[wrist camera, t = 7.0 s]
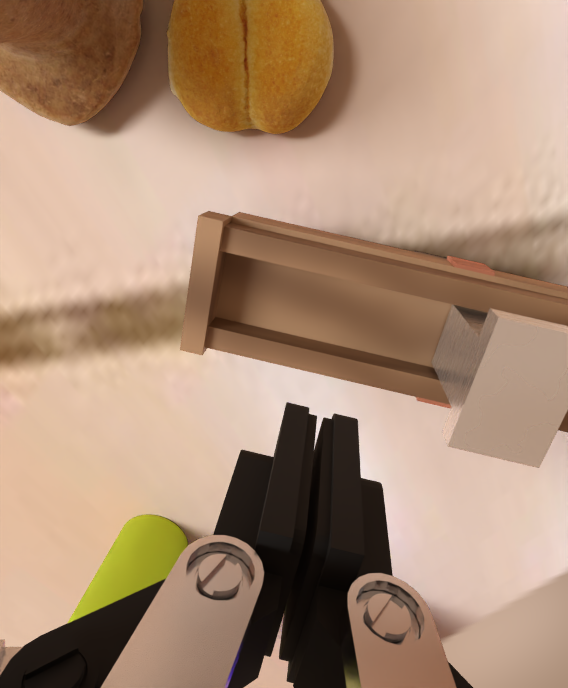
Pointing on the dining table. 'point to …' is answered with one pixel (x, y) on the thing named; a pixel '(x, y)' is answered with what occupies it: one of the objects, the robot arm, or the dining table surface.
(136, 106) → the dining table surface
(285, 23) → the bread roll
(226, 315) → the beam
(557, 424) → the rider
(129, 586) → the soap dispenser
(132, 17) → the stone cup
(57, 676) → the robot arm
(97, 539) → the dining table surface
